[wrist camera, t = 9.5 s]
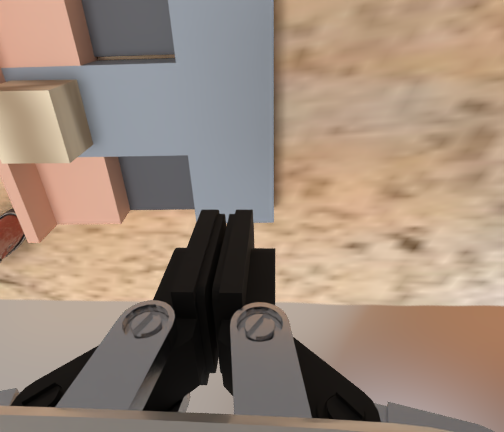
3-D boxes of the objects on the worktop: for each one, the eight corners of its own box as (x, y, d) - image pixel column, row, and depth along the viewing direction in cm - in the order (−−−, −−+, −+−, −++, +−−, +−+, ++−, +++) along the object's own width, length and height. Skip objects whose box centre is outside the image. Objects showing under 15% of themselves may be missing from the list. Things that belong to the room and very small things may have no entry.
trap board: (272, -49, 25) (274, -63, 19) (273, 206, 35) (274, 241, 30) (-21, -36, 26) (-94, -46, 20) (62, 208, 36) (28, 242, 30)
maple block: (76, 79, 26) (48, 90, 23) (93, 144, 29) (69, 163, 26) (11, 80, 27) (-27, 91, 23) (33, 145, 29) (1, 163, 26)
